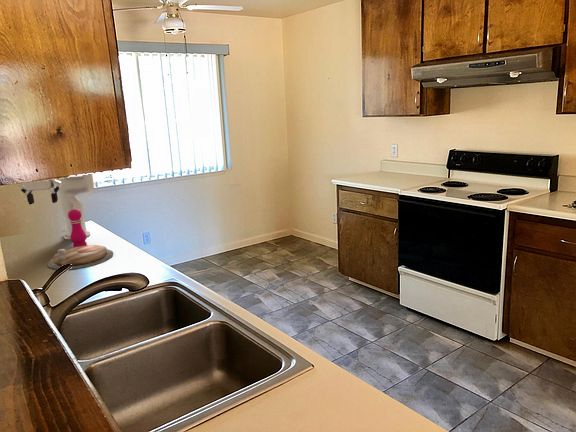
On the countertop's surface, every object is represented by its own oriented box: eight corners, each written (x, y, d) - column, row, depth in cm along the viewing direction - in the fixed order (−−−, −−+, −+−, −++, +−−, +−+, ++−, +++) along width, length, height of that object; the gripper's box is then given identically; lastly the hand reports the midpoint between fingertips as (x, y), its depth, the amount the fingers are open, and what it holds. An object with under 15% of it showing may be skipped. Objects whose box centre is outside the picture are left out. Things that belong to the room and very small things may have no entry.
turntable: (42, 263, 200) (39, 249, 199) (81, 247, 220) (79, 235, 218) (80, 267, 192) (78, 253, 191) (117, 251, 212) (115, 237, 210)
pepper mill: (90, 244, 229) (84, 204, 224) (83, 248, 222) (76, 208, 217) (77, 244, 229) (70, 205, 225) (69, 249, 223) (61, 208, 218)
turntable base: (33, 266, 199) (33, 265, 199) (81, 247, 223) (81, 246, 223) (81, 272, 189) (80, 270, 189) (126, 251, 213) (125, 249, 213)
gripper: (9, 164, 186) (17, 206, 190) (53, 162, 186) (60, 203, 190) (19, 162, 193) (27, 202, 197) (61, 160, 194) (68, 200, 197)
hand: (43, 203), depth 194 cm, fingers open, 9 cm apart
